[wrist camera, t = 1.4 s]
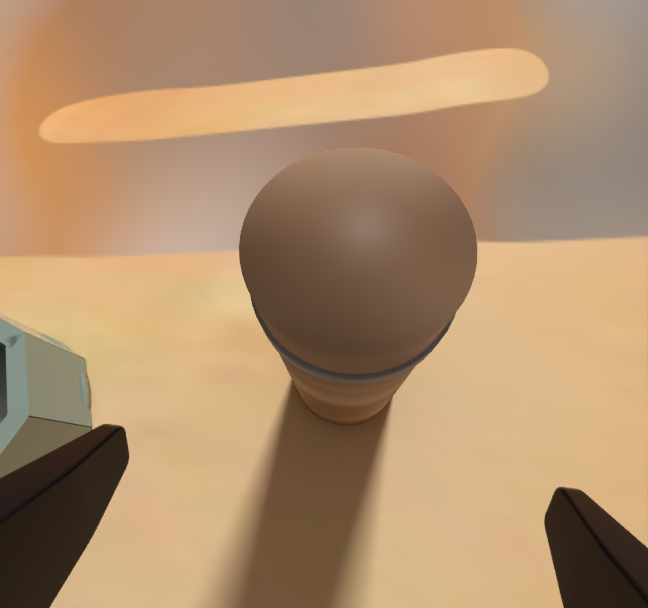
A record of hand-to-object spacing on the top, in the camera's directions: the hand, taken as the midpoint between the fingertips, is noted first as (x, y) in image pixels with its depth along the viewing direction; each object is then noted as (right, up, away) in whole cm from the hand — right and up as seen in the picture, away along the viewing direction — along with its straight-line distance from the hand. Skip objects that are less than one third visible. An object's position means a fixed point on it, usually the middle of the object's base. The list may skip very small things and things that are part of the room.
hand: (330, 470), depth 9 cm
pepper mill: (+1, 0, +12) cm, 12 cm away
